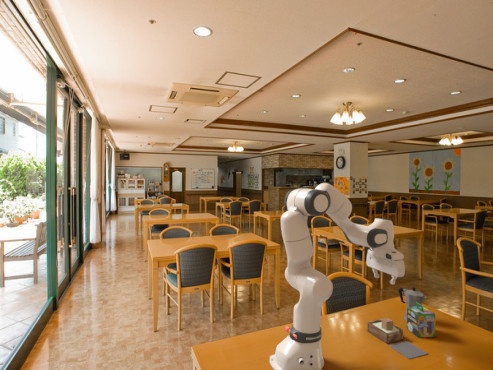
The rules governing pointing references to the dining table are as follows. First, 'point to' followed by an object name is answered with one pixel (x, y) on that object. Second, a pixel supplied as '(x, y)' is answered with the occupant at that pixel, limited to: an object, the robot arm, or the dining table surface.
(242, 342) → the dining table surface
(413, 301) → the coffeepot
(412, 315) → the chalk box
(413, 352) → the mat
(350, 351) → the dining table surface
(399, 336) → the open wooden box
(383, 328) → the cover plate
